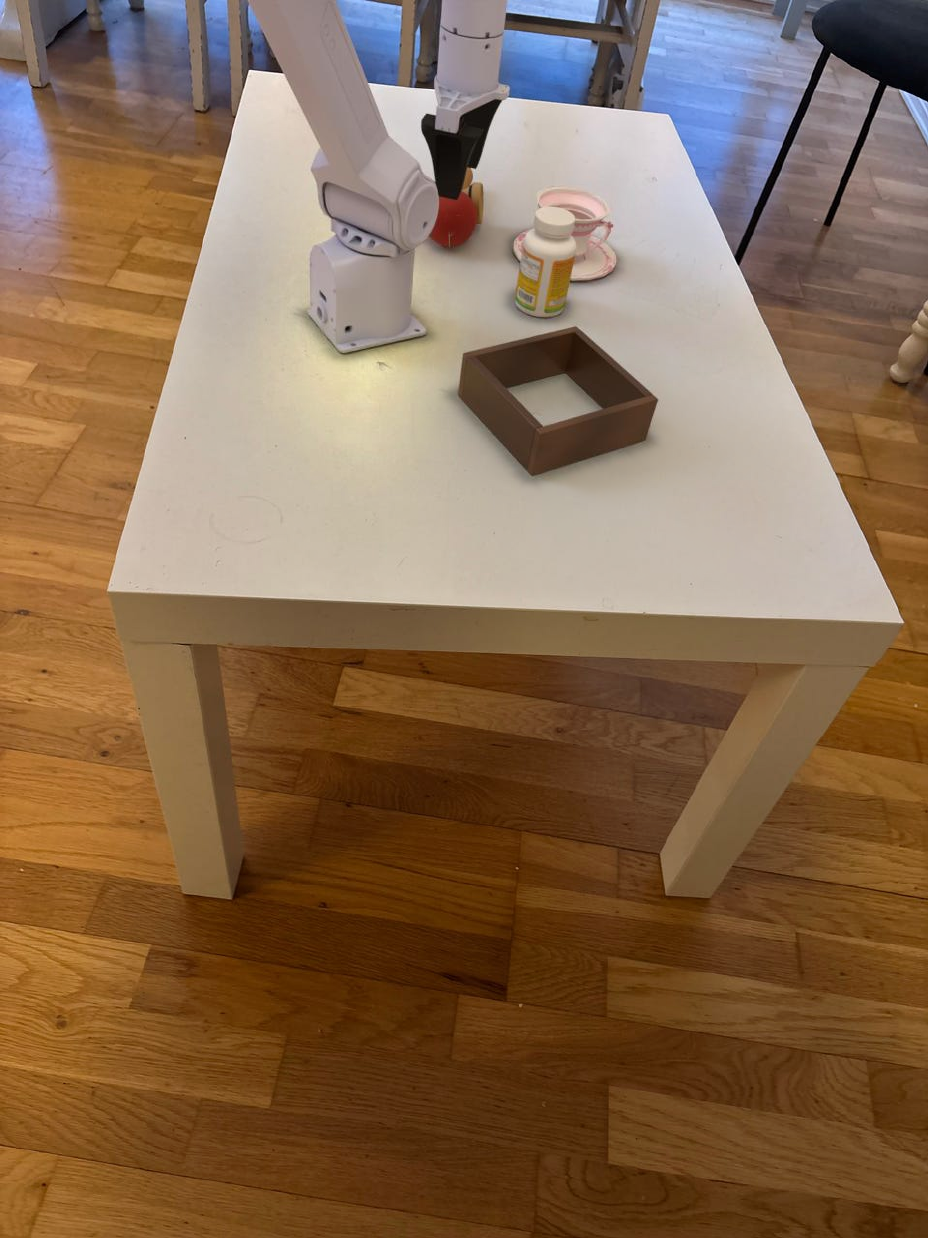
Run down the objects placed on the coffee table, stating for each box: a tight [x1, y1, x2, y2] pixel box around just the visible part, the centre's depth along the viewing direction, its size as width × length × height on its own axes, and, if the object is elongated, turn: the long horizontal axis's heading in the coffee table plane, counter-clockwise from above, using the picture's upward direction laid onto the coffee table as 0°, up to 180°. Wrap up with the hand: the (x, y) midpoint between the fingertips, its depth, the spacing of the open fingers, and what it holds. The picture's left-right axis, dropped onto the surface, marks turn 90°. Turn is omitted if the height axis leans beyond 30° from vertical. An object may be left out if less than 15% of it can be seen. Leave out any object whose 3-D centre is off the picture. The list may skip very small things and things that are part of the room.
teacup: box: [512, 186, 617, 282], centre depth 102 cm, size 12×12×6 cm
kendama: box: [428, 167, 485, 248], centre depth 106 cm, size 8×6×18 cm
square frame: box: [457, 325, 659, 476], centre depth 82 cm, size 13×13×4 cm
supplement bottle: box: [514, 207, 576, 318], centre depth 93 cm, size 5×5×10 cm
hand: (457, 180), depth 92 cm, fingers open, 7 cm apart
